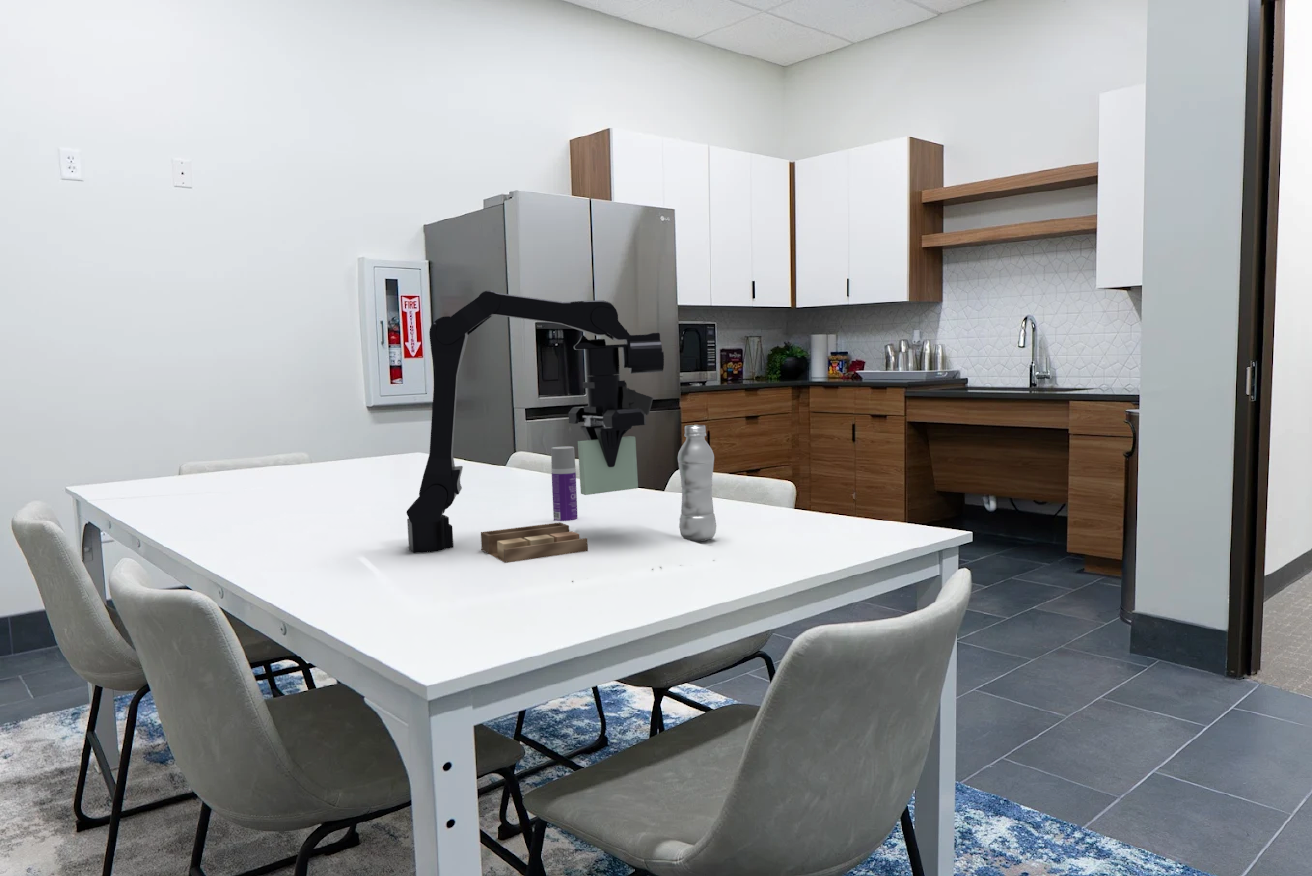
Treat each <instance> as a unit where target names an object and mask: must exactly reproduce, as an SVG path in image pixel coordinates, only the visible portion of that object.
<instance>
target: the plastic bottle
mask: <svg viewBox="0 0 1312 876" xmlns="http://www.w3.org/2000/svg"><path fill="white" fill-rule="evenodd" d="M706 432H707V431H706V425H705V424H694V425H693V424H690V425H685V426H684V434H683V435H684V437H685V440H684V442H683V444H682V445H681V447H680V449H679V451H678V454H677V463H678V469H679V470H678V471H679V476H680V484H681V486H680V487H681V508H680V509H681V511H680V517H679V526H678V529H679V532H680V535H681V537H682V538H683V539H684V540H686V541H692V542H697V543H698V542H703V541H708V540H711V539H713V538H714V537H715V535H716V532H717V520H716V516H715V513H714V512H715V511H714V503H713V502H714V501H713V475H714V474H713V473H714V465H715V454H714V452H713V451H714V450H713V449H712V447H711V446H710V445H709V443H708V441H707V440H706V438H705V437H707V433H706Z"/></svg>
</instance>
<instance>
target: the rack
mask: <svg viewBox="0 0 1312 876" xmlns="http://www.w3.org/2000/svg"><path fill="white" fill-rule="evenodd" d="M563 532H570V525H568V524H566V523H563V522H561V521H558V522H554V523H553V522H551V523H545V524H538V525H537V524H536V525H529V526H520V527H511V528H504V529H496V530H488V531H481V532H480V542H481V543H480V544H481V546H480V547H481V551H483V552H485V553H486V554H488V555H490V556H492V557H494V558H496V559H497V560H499V561H502V562H504V563H505V564H507V563H514V562H522V561H528V560H535V559H543V558H548V557H556V556H564V555H569V554H578V553H583V552H584V553H585V552H589V550H588V549H589V548H588V547H589V546H588V538H586V537H585V538H579V539H575V540H568V541H560V542H553V543H546V544H538V545H531V546H523V547H516V548H509V549H504V559H502V558H500V557H498V548H497V541H501V540H509V539H516V538H522V539H524V537H532V536H539V535H549V536H550V534H555V533H563Z"/></svg>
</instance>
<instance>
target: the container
mask: <svg viewBox="0 0 1312 876" xmlns="http://www.w3.org/2000/svg"><path fill="white" fill-rule="evenodd" d="M550 450H551V451H550V454H551V455H550V457H551V489H552V491H551V492H552V494H551V495H552V513H553V514H552V515H553V521H554V522H555V521H557V522H564V521H565V522H567V521H568V522H570V521H571V522H572V521H575V520H578V518H579V517H578V495H577V473H576V457H575V456H576V455H575V447H574V446H572V445H571V446H567V445H566V446H555V447H554V446H553V447H551V448H550Z"/></svg>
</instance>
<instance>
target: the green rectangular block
mask: <svg viewBox="0 0 1312 876" xmlns="http://www.w3.org/2000/svg"><path fill="white" fill-rule="evenodd" d="M636 441H637V439H636V436H631V435H629V436H622V439H621V442H620V446H619V450H618V454H617V458H616V462H615V466H614V467H608V465H607V463H606V460H605V458H604V455H603V452H602V449H601V446H600V443H599V440H598V439H596V440H588V439H587V440H577V449H578V450H577V452H578V453H577V454H578V468H579V472H578V473H579V485H580V486H579V487H580V495H584V496H589V495H596V494H597V495H598V494H604V493H605V494H606V493H611V492H619V491H628V490H636V489H639V480H638V463H637V443H636Z"/></svg>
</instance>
